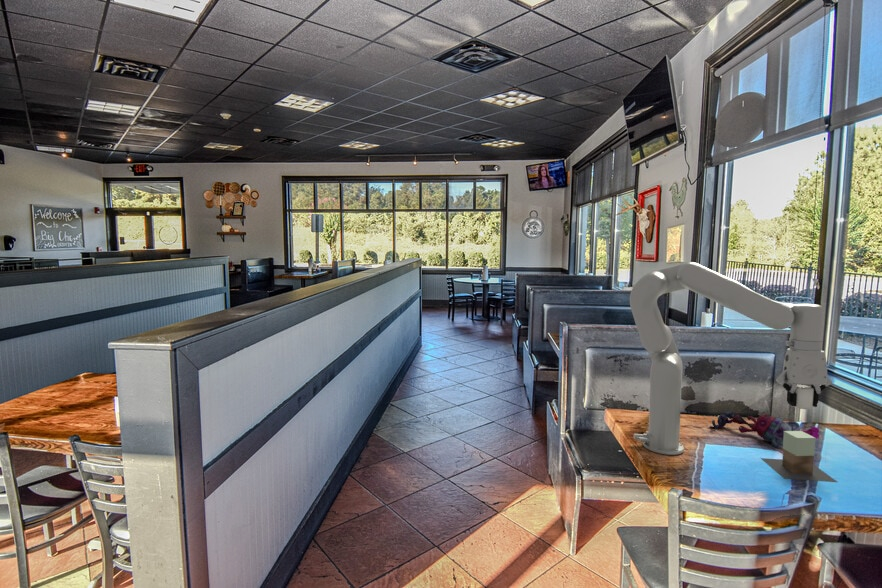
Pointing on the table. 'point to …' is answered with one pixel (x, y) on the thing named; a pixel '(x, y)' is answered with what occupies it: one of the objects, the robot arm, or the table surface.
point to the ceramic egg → (804, 397)
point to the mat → (786, 474)
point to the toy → (764, 427)
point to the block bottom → (798, 463)
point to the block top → (799, 443)
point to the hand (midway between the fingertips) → (802, 404)
